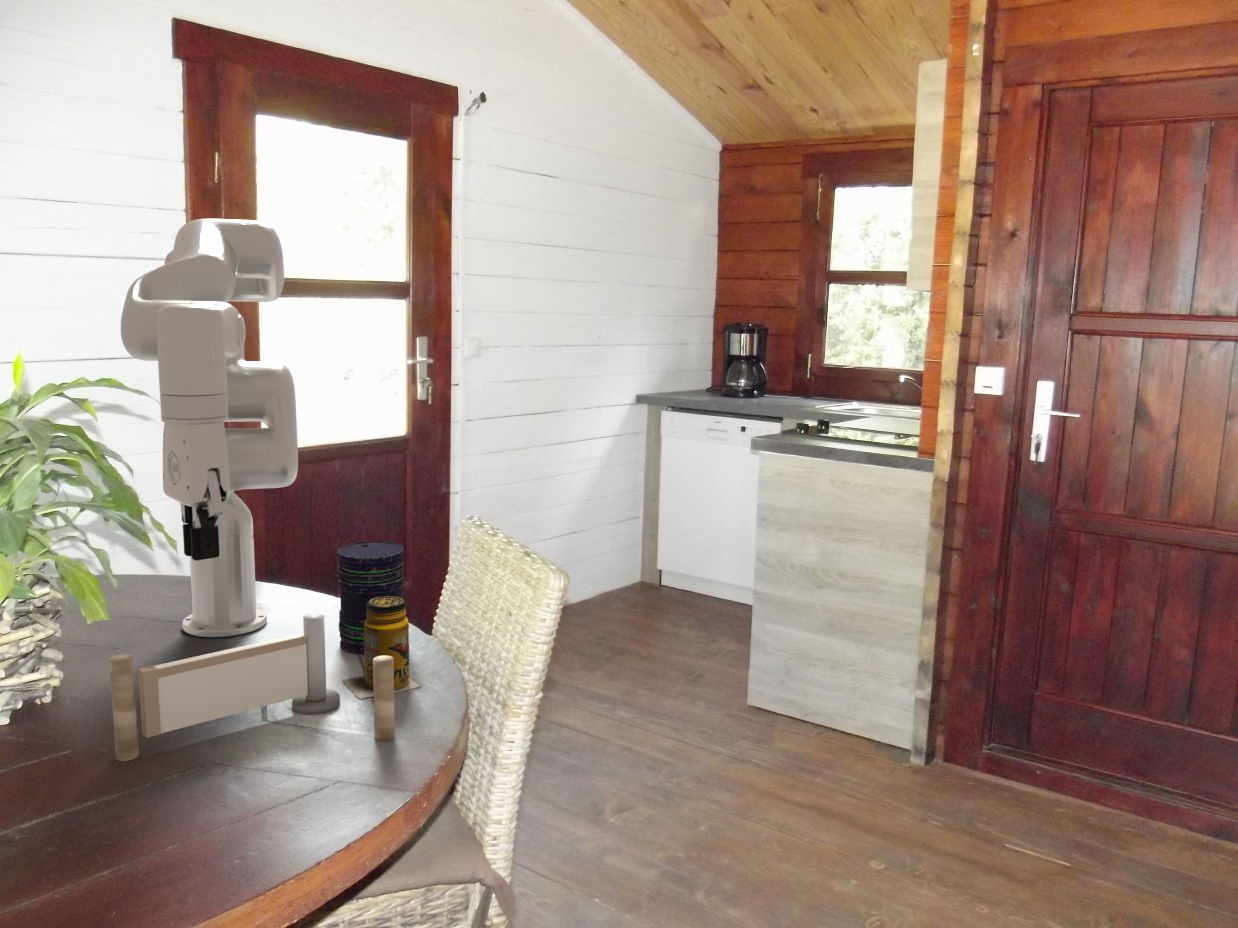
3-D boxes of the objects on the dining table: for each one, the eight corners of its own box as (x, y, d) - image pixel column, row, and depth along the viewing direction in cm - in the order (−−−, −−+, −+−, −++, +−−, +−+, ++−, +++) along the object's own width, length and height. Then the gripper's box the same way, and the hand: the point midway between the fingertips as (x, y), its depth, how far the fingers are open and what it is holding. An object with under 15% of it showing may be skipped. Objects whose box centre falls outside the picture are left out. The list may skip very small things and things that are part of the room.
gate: (320, 691, 136) (318, 611, 135) (329, 697, 135) (327, 617, 133) (141, 738, 121) (135, 650, 119) (148, 746, 120) (143, 656, 118)
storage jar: (413, 649, 156) (412, 553, 153) (349, 659, 151) (346, 561, 148) (393, 629, 164) (392, 538, 162) (331, 638, 160) (329, 545, 157)
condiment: (419, 687, 142) (418, 603, 139) (360, 700, 137) (358, 613, 135) (399, 670, 148) (398, 590, 145) (342, 681, 143) (339, 598, 141)
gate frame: (108, 750, 121) (101, 652, 119) (329, 691, 139) (326, 606, 137) (162, 810, 107) (155, 702, 105) (398, 737, 126) (396, 643, 124)
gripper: (140, 403, 127) (148, 548, 130) (186, 417, 115) (194, 575, 119) (201, 399, 132) (208, 539, 135) (252, 413, 120) (258, 565, 124)
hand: (201, 555), depth 127 cm, fingers closed
